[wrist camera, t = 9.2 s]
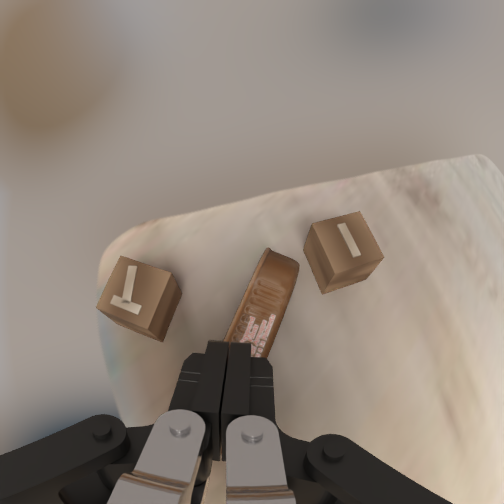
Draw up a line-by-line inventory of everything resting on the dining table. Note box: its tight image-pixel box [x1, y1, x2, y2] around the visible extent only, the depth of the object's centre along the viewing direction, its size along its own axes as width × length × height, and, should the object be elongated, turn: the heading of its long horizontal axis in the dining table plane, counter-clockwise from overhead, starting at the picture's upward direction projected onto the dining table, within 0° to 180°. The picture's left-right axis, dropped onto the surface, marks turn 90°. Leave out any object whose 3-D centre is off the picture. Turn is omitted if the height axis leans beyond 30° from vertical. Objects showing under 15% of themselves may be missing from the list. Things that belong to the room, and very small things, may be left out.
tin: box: [221, 248, 299, 454], centre depth 21 cm, size 15×3×8 cm, turn 158°
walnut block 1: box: [303, 211, 384, 294], centre depth 27 cm, size 4×4×5 cm
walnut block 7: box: [96, 256, 182, 342], centre depth 24 cm, size 4×4×5 cm
